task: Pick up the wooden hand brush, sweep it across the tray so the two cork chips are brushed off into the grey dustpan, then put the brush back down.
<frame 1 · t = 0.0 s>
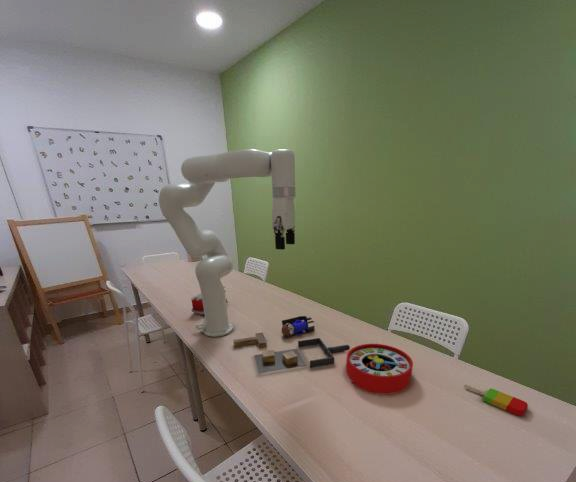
hand: (285, 246, 104), 37 cm above the table, tool pointing down, fingers open, 9 cm apart
character figurine: (297, 335, 125), on the table
dustpan: (314, 357, 108), on the table
cork chip A: (268, 359, 105), point 1 cm above the table, touching tray
toy fire truck: (211, 310, 153), on the table
popsicle: (492, 400, 84), on the table
toy clock: (377, 374, 97), on the table
cork chip B: (289, 360, 104), point 1 cm above the table, touching tray
tray: (279, 362, 105), on the table
brush: (261, 344, 118), on the table
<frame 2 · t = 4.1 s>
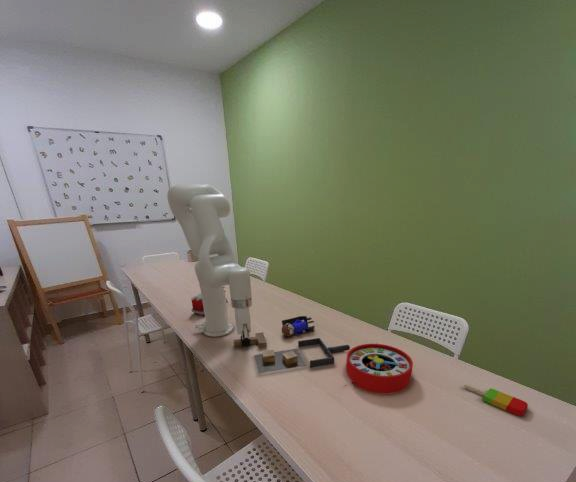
hand: (245, 345, 116), 0 cm above the table, tool pointing down, fingers closed on brush, 2 cm apart
brush: (261, 344, 118), on the table, touching gripper
everything else where it was.
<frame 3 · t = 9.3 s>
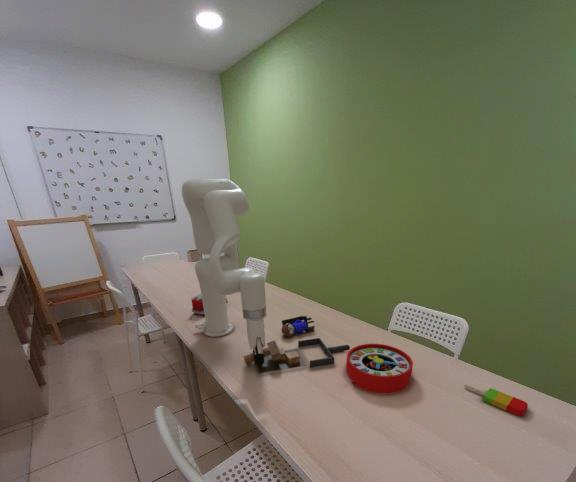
hand: (258, 361, 102), 2 cm above the table, tool pointing down, fingers closed on brush, 2 cm apart
cork chip A: (278, 357, 106), point 1 cm above the table, touching brush, cork chip B, tray
cork chip B: (292, 360, 104), point 1 cm above the table, touching cork chip A, tray
brush: (275, 354, 103), point 4 cm above the table, tilted 14°, touching cork chip A, gripper
everything else where it was.
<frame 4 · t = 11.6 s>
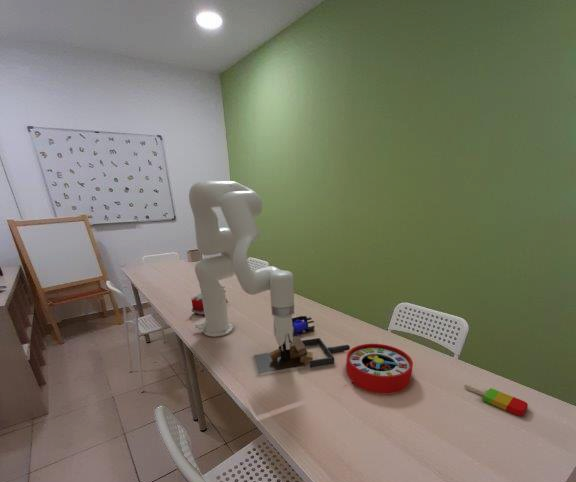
hand: (284, 357, 105), 2 cm above the table, tool pointing down, fingers closed on brush, 2 cm apart
cork chip A: (293, 355, 108), point 1 cm above the table, touching gripper
cork chip B: (305, 360, 104), point 1 cm above the table, tilted 10°, touching dustpan, tray
brush: (300, 349, 105), point 4 cm above the table, tilted 17°, touching gripper
everything else where it was.
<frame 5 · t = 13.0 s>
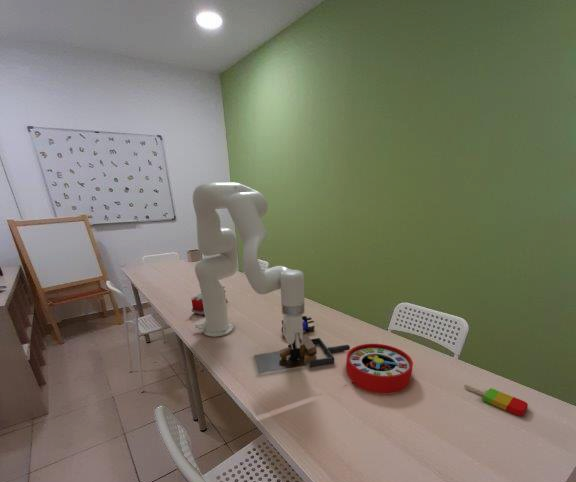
hand: (294, 356, 106), 2 cm above the table, tool pointing down, fingers closed on brush, 2 cm apart
cork chip A: (301, 353, 108), point 1 cm above the table, tilted 12°, touching dustpan, tray
cork chip B: (309, 360, 105), point 1 cm above the table, tilted 8°, touching dustpan, tray
brush: (309, 348, 106), point 4 cm above the table, tilted 15°, touching gripper, tray
everything else where it was.
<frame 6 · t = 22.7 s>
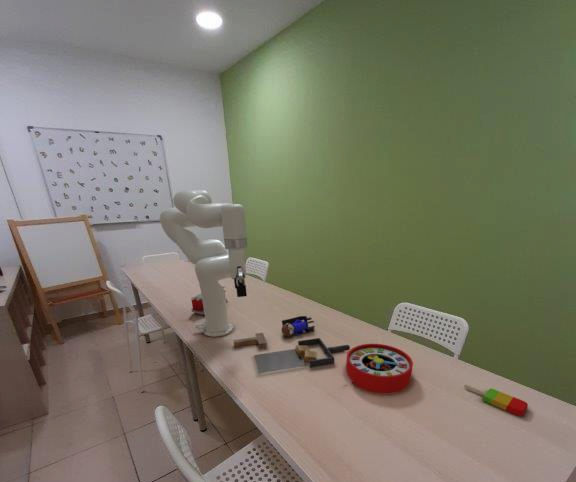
hand: (240, 292, 107), 22 cm above the table, tool pointing down, fingers open, 9 cm apart
brush: (261, 344, 117), on the table
everything else where it was.
at the end: cork chip A inside the target area in the dustpan (4.6 cm from its centre), point 0.8 cm above the dustpan's base; cork chip B inside the target area in the dustpan (3.7 cm from its centre), point 0.7 cm above the dustpan's base; the gripper is holding nothing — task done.
